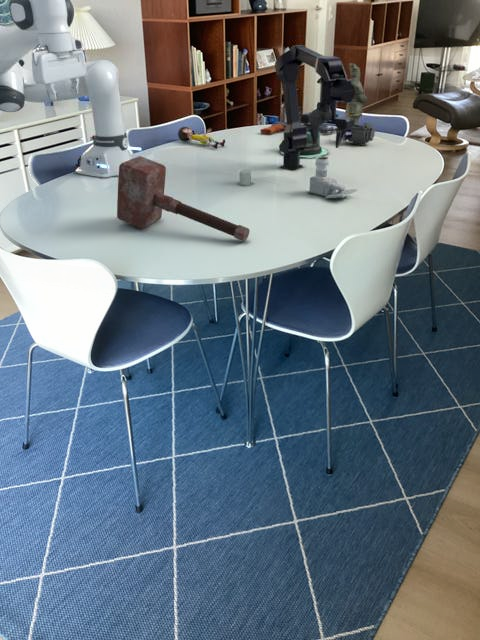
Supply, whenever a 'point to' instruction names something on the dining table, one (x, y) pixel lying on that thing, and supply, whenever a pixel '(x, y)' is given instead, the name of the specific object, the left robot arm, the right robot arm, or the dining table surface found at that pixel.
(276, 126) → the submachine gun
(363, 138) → the toy
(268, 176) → the dining table surface
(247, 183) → the can
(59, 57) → the left robot arm
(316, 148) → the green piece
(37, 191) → the dining table surface
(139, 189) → the sledgehammer
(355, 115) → the statue
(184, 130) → the figurine
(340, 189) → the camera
